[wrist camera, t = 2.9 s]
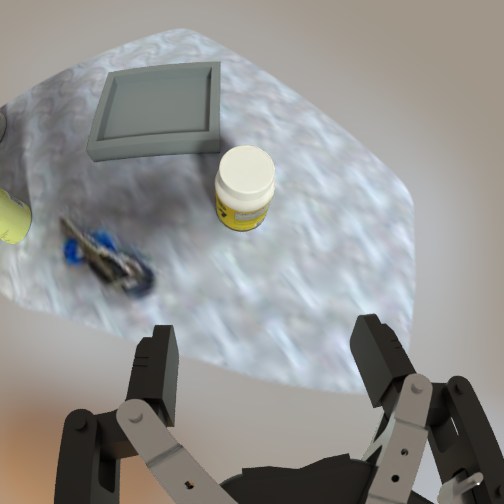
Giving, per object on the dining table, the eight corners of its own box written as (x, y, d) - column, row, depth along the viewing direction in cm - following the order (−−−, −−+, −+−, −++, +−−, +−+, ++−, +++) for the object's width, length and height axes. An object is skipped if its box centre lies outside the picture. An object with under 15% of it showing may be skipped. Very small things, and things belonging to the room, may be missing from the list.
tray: (94, 162, 29) (85, 150, 27) (113, 85, 32) (108, 72, 29) (219, 152, 30) (219, 139, 28) (220, 75, 33) (220, 61, 31)
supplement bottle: (213, 190, 29) (210, 142, 21) (261, 185, 30) (273, 137, 22) (219, 237, 28) (217, 201, 20) (269, 230, 29) (286, 194, 21)
